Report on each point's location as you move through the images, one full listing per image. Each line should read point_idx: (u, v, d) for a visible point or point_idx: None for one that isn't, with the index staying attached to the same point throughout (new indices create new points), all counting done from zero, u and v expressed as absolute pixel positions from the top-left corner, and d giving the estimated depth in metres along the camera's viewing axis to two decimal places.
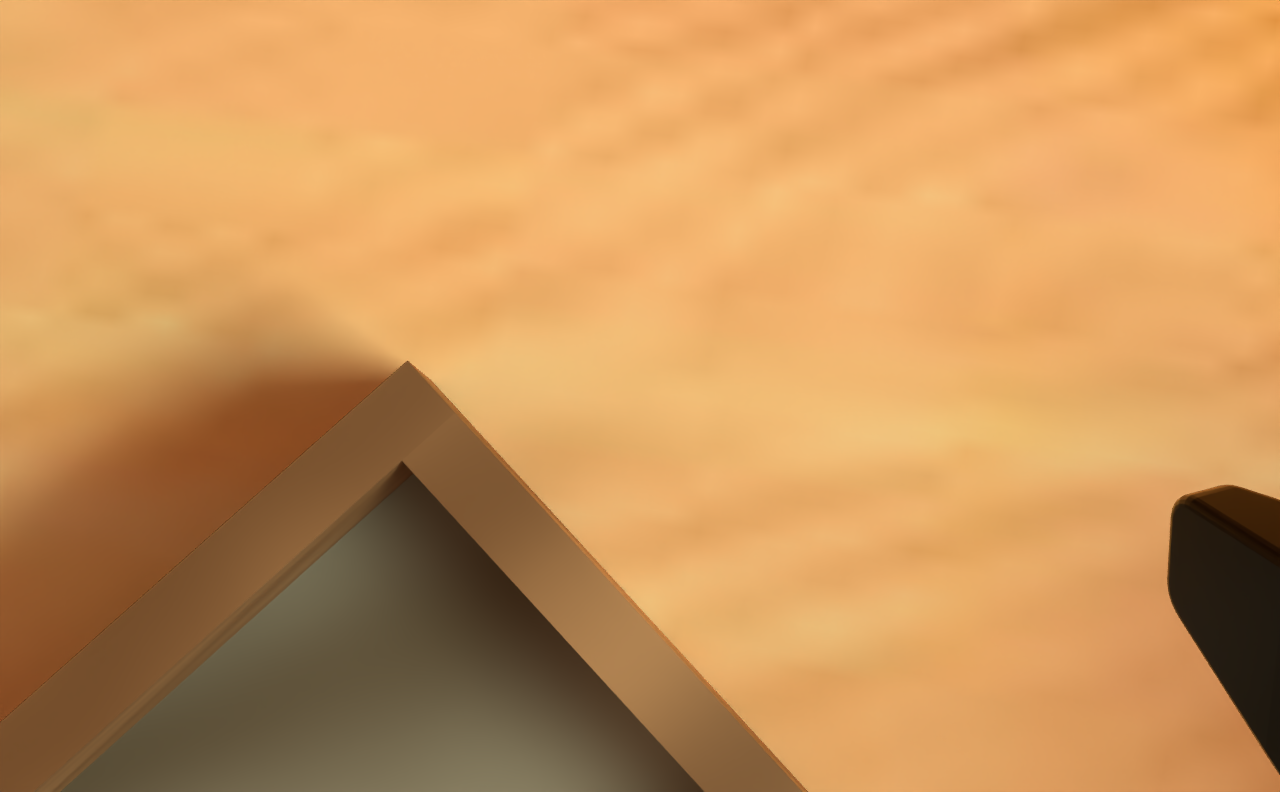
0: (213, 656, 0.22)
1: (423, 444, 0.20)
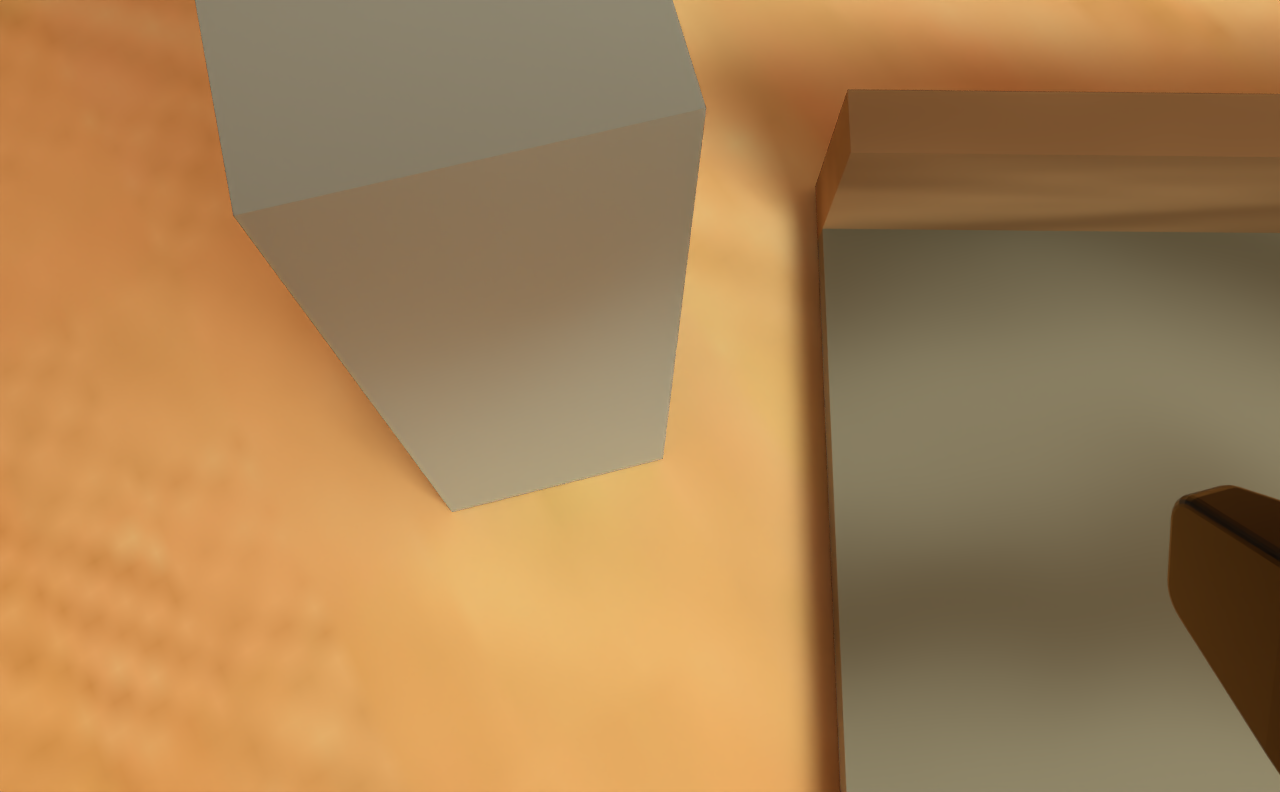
0: None
1: None
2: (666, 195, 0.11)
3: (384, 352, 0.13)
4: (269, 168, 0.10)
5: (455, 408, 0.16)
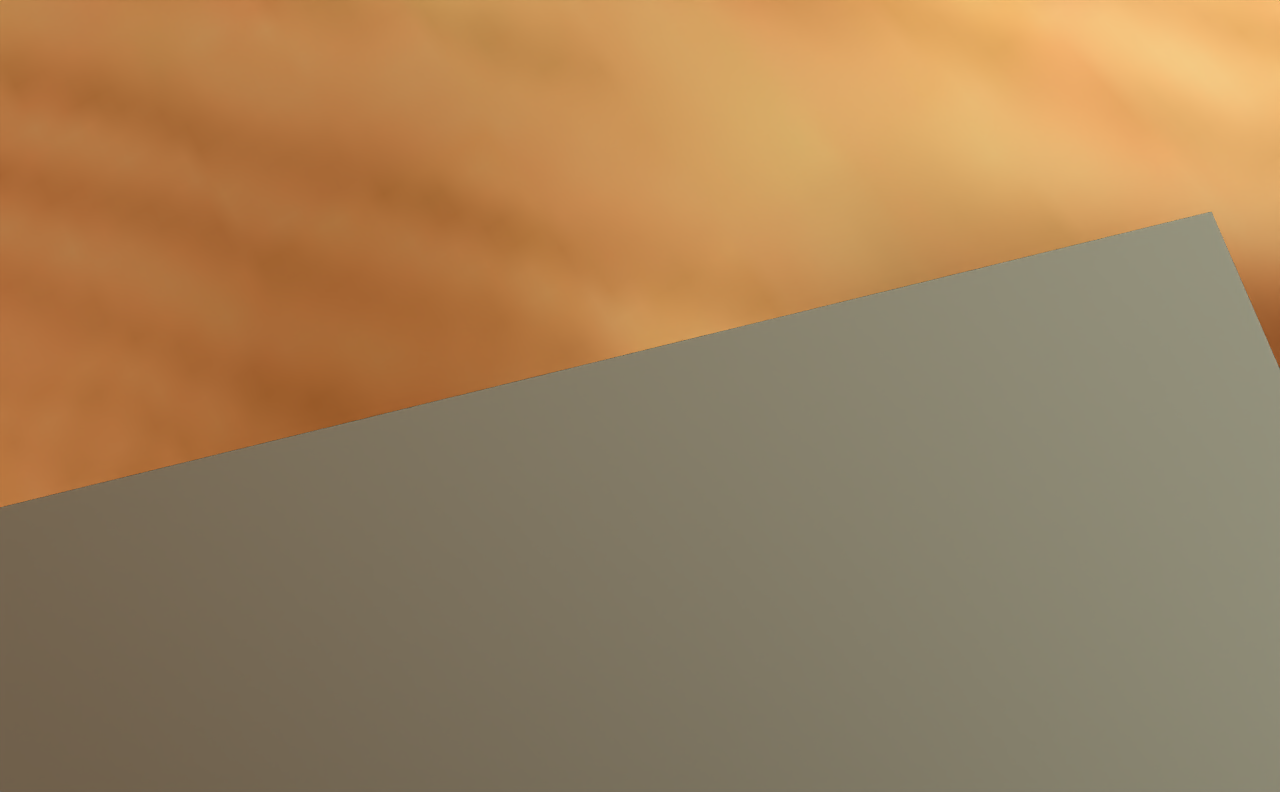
0: None
1: None
2: None
3: None
4: None
5: None
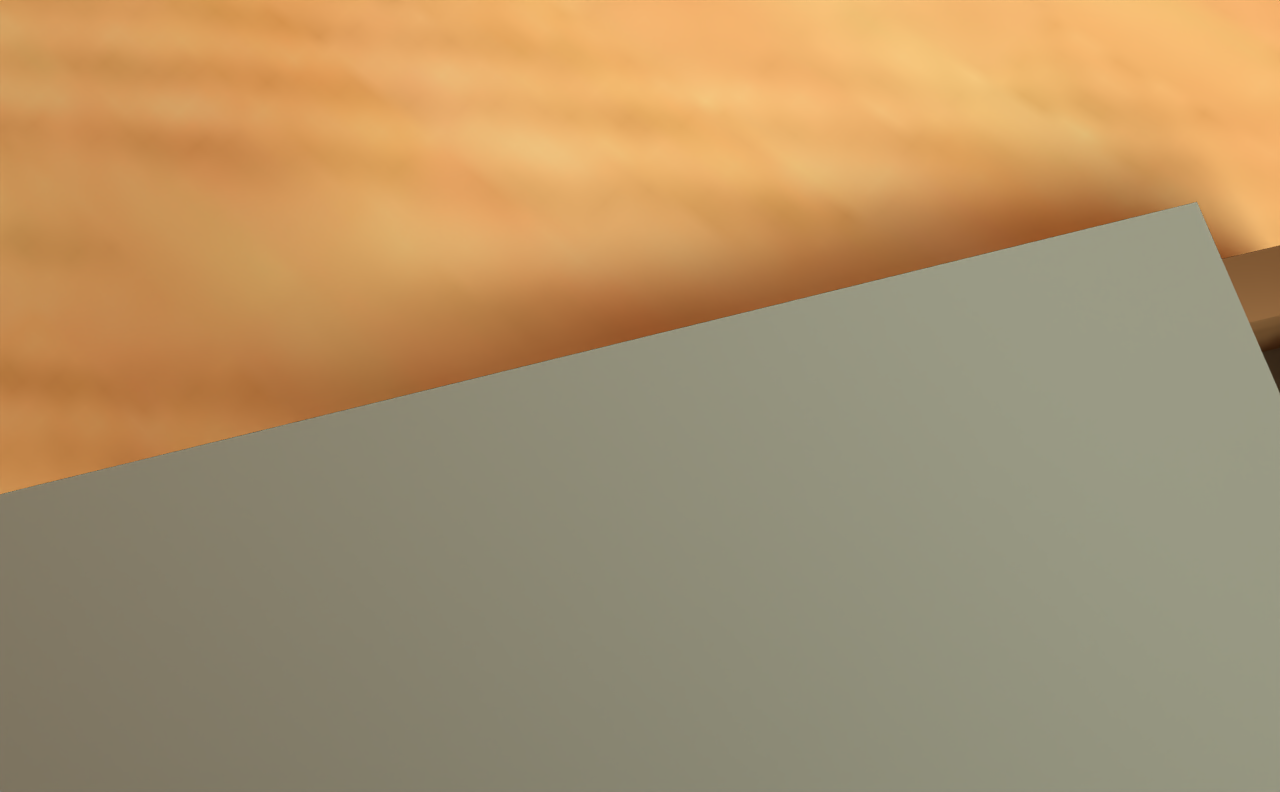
0: None
1: None
2: None
3: None
4: None
5: None
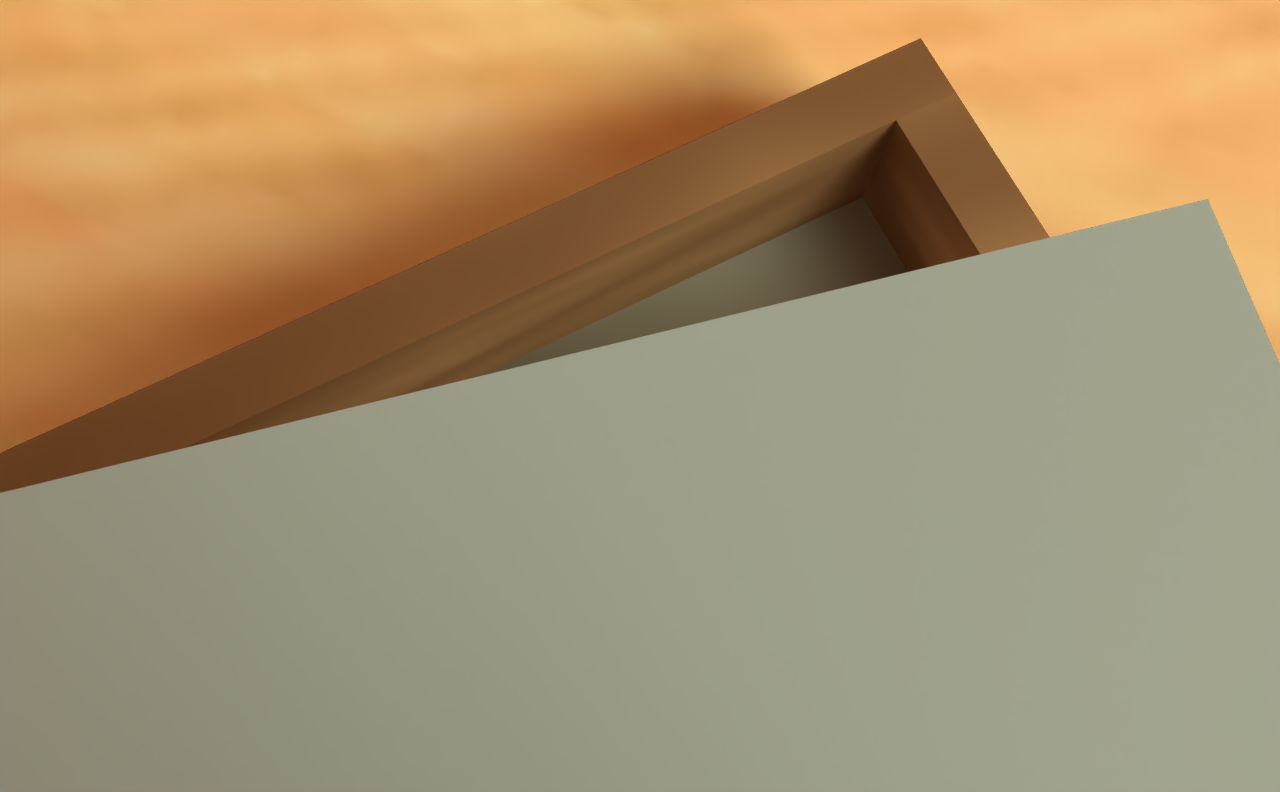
0: (620, 312, 0.22)
1: (919, 111, 0.20)
2: None
3: None
4: None
5: None
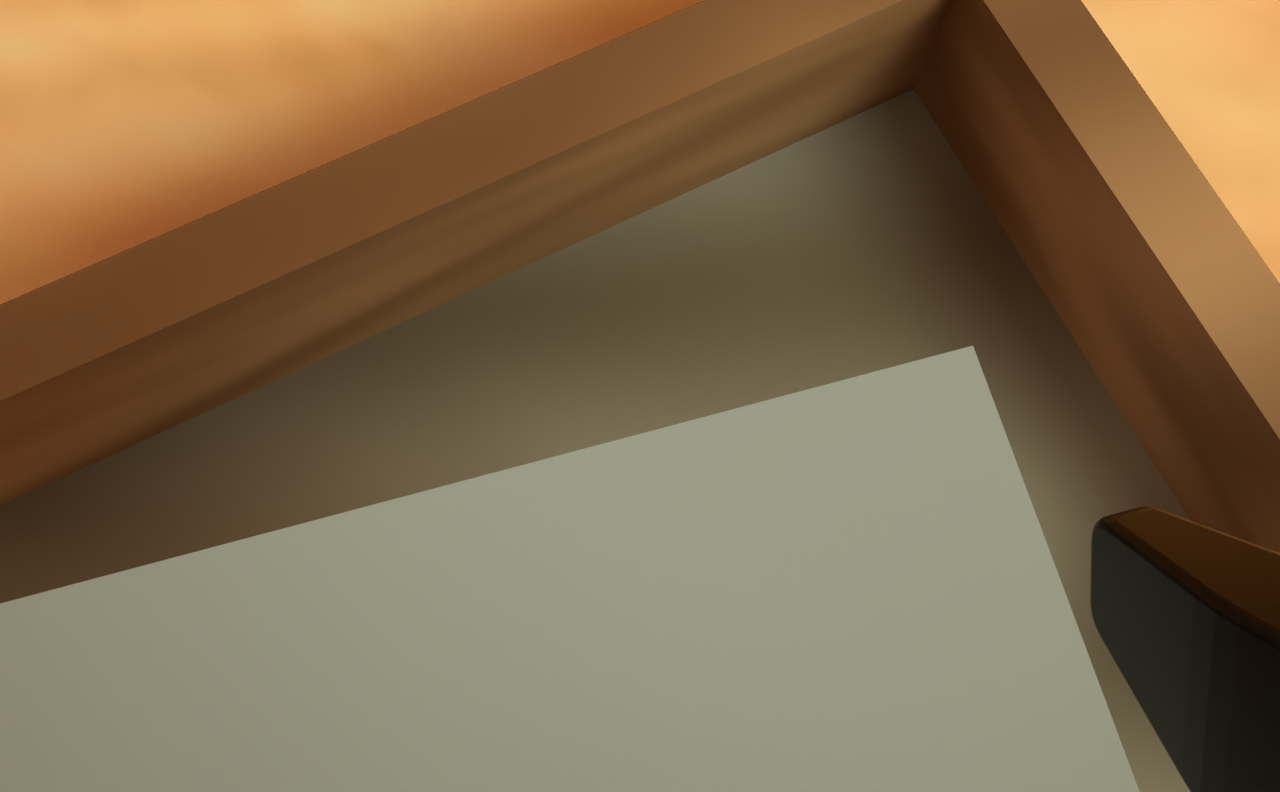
0: (621, 225, 0.18)
1: None
2: None
3: None
4: None
5: None
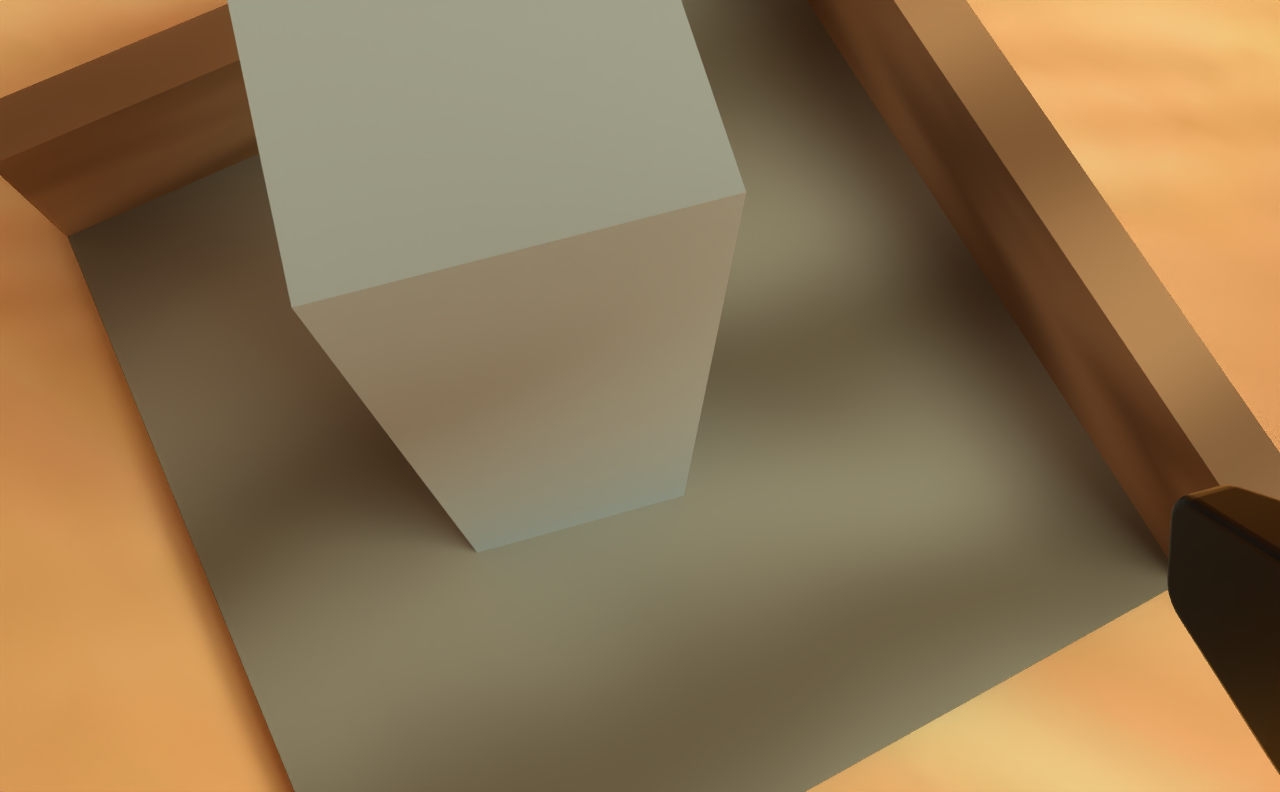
0: None
1: None
2: (703, 268, 0.12)
3: (423, 416, 0.14)
4: (324, 259, 0.10)
5: (486, 461, 0.16)
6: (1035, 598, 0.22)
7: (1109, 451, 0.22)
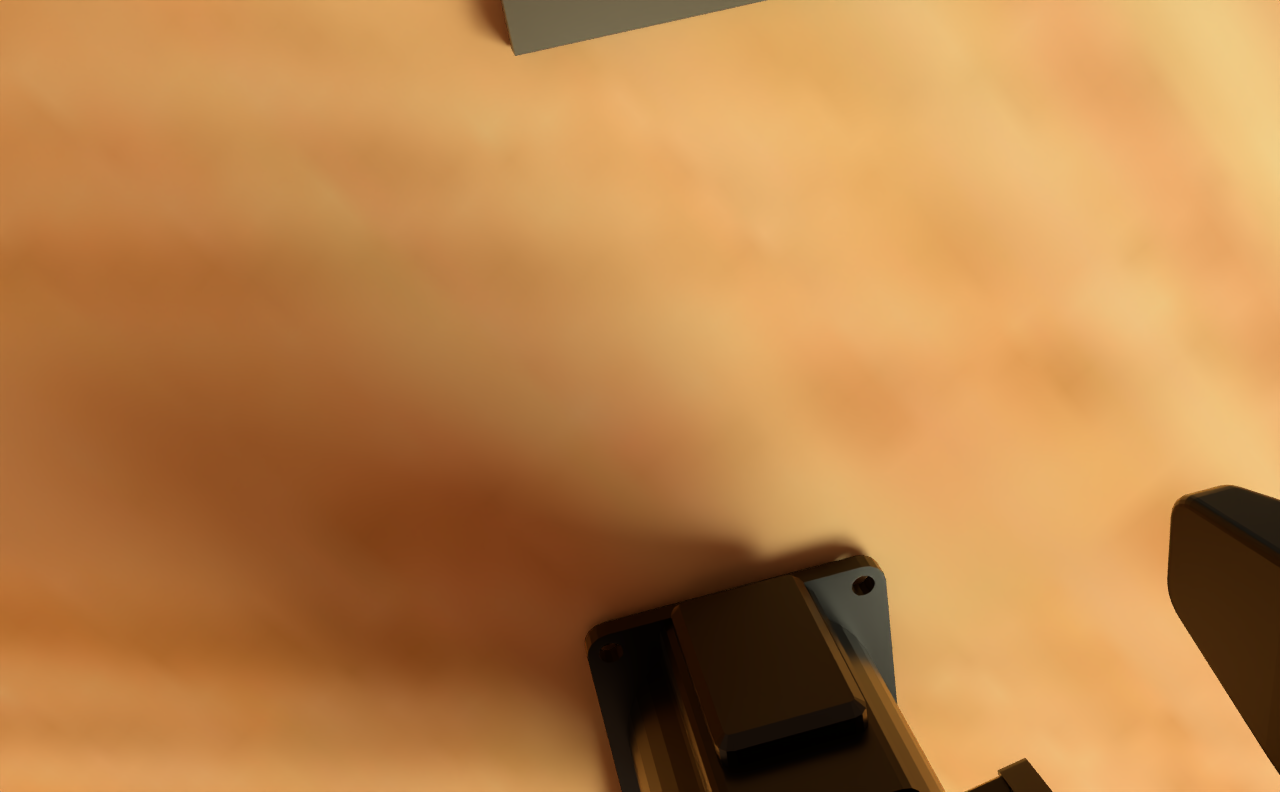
0: None
1: None
2: None
3: None
4: None
5: None
6: None
7: None
